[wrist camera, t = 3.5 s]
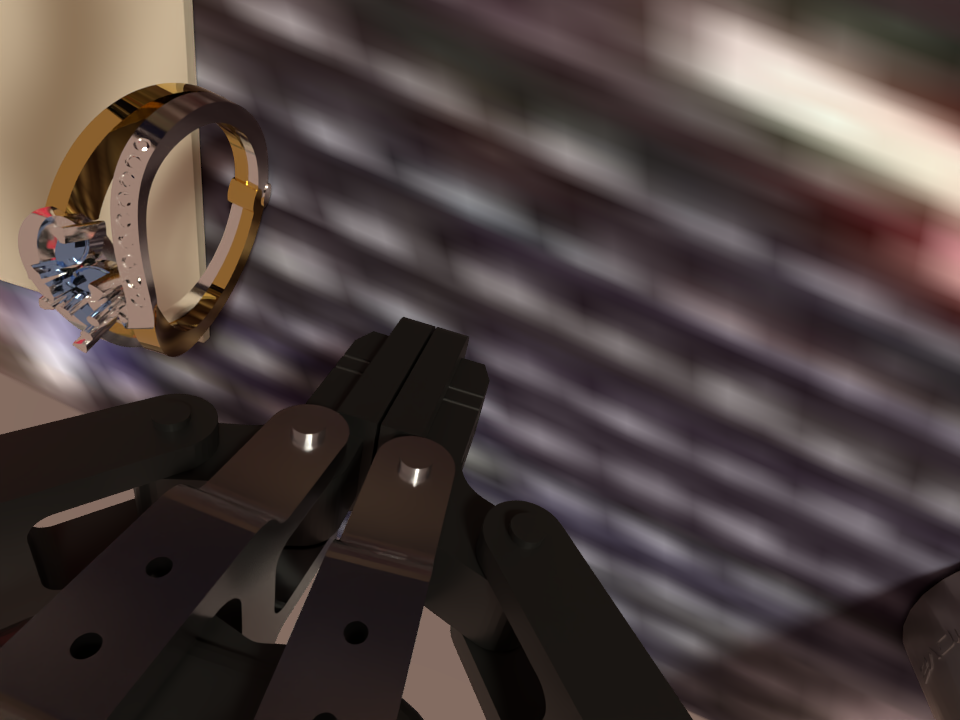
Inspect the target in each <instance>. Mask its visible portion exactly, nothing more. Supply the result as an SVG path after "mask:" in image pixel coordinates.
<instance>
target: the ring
mask: <svg viewBox="0 0 960 720" xmlns="http://www.w3.org/2000/svg"><path fill="white" fill-rule="evenodd" d="M212 123H217V124H218V125H219V126H220V127H221V129H222V130H223V131H224V133H225V134H226V136H227V138H228V140H229V142H230V145H231V148H232V151H233V155H234V162H235V177H234V178H233V179H232V180H231V182H230V185H229V190H228V201H229V202H231V203H232V207H231V211H230V215H229V219H228V222H227V226H226V229H225V232H224V234H223V237H222V240H221V242H220V244H219V247H218V249H217V251H216V253H215V255H214V257H213V259H212V260H211V262H210V264H209V266H208V267H207V269H206V270H205V272H204V274H203V275H202V276H201V278H200V279H199V281H198V282H197V283H196V284H195V286H194V287H193V288H192V289H191V290H190V291H189V292H188V294H187V295H186V296H185V297H183V298H182V299H181V300H180V301H179V302H178V303H176V304H175V305H174V306H172V307H171V308H169V309H168V310H166V311H164V312H161V311H160V309H159V307H158V306H157V296H156V290H155V285H154V280H153V275H152V270H151V264H150V258H149V251H148V242H147V228H146V215H147V204H148V197H149V193H150V189H151V185H152V182H153V180H154V177H155V175H156V173H157V171H158V169H159V167H160V165H161V164H162V162H163V161H164V159H165V158H166V156H167V155H168V154H169V153H170V151H171V150H172V149H173V148H174V147H175V146H176V145H177V144H178V143H179V142H180V141H181V140H182V139H184V138H185V137H186V136H187V135H189V134H190V133H191V132H193V131H195V130H196V129H198V128H200V127H202V126H205V125H208V124H212ZM268 171H269V166H268V152H267V146H266V142H265V138H264V135H263V132H262V130H261V128H260V126H259V124H258V122H257V121H256V119H255V118H254V117H253V116H252V115H251V114H250V113H249V112H248V111H247V110H246V109H244V108H243V107H241V106H239V105H237V104H235V103H234V102H232V101H230V100H228V99H226V98H224V97H222V96H220V95H218V94H216V93H213V92H211V91H209V90H207V89H204V88H202V87H199V86H196V85H191V84H186V83H163V84H157V85H152V86H148V87H145V88H142V89H139V90H136V91H134V92H132V93H130V94H128V95H126V96H124V97H122V98H120V99H119V100H117V101H115V102H114V103H112V104H111V105H110V106H108V107H107V108H106V109H104V110H103V111H102V112H101V113H100V114H99V115H97V116H96V117H95V118H94V119H93V120H92V121H91V122H90V123H89V124H88V125H87V127H86V128H85V129H84V130H83V131H82V132H81V134H80V135H79V136H78V138H77V139H76V140H75V142H74V143H73V145H72V146H71V148H70V149H69V151H68V152H67V154H66V156H65V158H64V159H63V161H62V163H61V165H60V167H59V169H58V171H57V174H56V176H55V178H54V181H53V183H52V186H51V189H50V192H49V195H48V198H47V202H46V205H45V207H44V208H40V209H37V210H35V211H33V212H32V213H30V214H29V215H28V216H27V217H26V218H25V219H24V221H23V222H22V224H21V226H20V229H19V233H18V249H19V254H20V258H21V261H22V263H23V266H24V268H25V270H26V272H27V275H28V279H30V280H32V282H33V283H34V285H35V286H36V287H37V289H38V290H39V291H40V293H41V294H42V295H43V296H42V297H41V298H39V305H40V307H41V308H43V309H51V310H54V309H56V310H57V311H58V312H59V313H60V314H61V315H62V316H63V317H65V318H66V319H67V320H68V321H69V322H70V323H72V324H73V325H74V326H76V327H77V328H79V329H80V330H82V331H81V333H80V334H81V336H80V337H79V338H78V339H77V340H76V341H75V342H74V343H73V345H74V346H75V347H76V348H78V349H80V350H81V351H83V352H85V353H87V351H88V350H89V349H90V348H91V347H92V346H93V345H94V344H95V343H96V342H97V341H98V340H99V339H103V340H105V341H108V342H110V343H113V344H116V345H119V346H124V347H144V348H146V349H148V350H151V351H154V352H157V353H160V354H164V355H167V356H170V357H176V356H179V355H181V354H183V353H185V352H186V351H188V350H189V349H190V348H191V347H192V346H193V345H194V344H195V343H196V342H197V341H198V340H199V339H200V338H201V337H202V336H203V334H204V333H205V332H206V331H207V329H208V328H209V327H210V325H211V324H212V323H213V321H214V320H215V318H216V317H217V315H218V314H219V312H220V311H221V309H222V308H223V306H224V305H225V303H226V301H227V300H228V298H229V296H230V294H231V292H232V291H233V289H234V287H235V285H236V283H237V281H238V279H239V277H240V275H241V273H242V271H243V268H244V266H245V264H246V261H247V259H248V257H249V254H250V251H251V249H252V246H253V243H254V240H255V237H256V234H257V231H258V228H259V224H260V220H261V217H262V212H263V208H264V207H266V206H267V204H268V202H269V199H270V195H271V184H270V183H268ZM112 179H113V181H112ZM111 181H112V188H111V197H110V221H111V232H112V240H113V243H112V242H111V240H110V239H109V238H108V236H107V235H106V224H105V221H95V220H98V219H99V216H100V212H101V208H102V205H103V201H104V198H105V195H106V193H107V190H108V188H109V186H110V183H111ZM92 220H94V221H92ZM86 264H87V265H86ZM118 316H119V319H120V320H117V317H118Z"/></svg>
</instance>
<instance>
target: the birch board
mask: <svg viewBox="0 0 960 720" xmlns="http://www.w3.org/2000/svg"><path fill="white" fill-rule="evenodd" d="M163 83H186V84H191V85H196V86H197V82H196V63H195V44H194V25H193V5H192V0H0V280H2V281H6V282H9V283H12V284H15V285H19V286H22V287H25V288H28V289H31V290H35V291H38V292H40V291H39V290H38V289H37V287H36V286H35V285H34V283H33V282H32V280H30V279H28V275H27V272H26V270H25V268H24V266H23V263H22V261H21V258H20V254H19V249H18V233H19V229H20V226H21V224H22V222H23V221H24V219H25V218H26V217H27V216H28V215H29V214H30V213H32V212H33V211H35V210H37V209H40V208H44V207H45V205H46V202H47V198H48V195H49V192H50V189H51V186H52V183H53V181H54V178H55V176H56V174H57V171H58V169H59V167H60V165H61V163H62V161H63V159H64V158H65V156H66V154H67V152H68V151H69V149H70V148H71V146H72V145H73V143H74V142H75V140H76V139H77V138H78V136H79V135H80V134H81V132H82V131H83V130H84V129H85V128H86V127H87V125H88V124H89V123H90V122H91V121H92V120H93V119H94V118H95V117H96V116H97V115H99V114H100V113H101V112H102V111H103V110H104V109H106V108H107V107H108V106H110V105H111V104H112V103H114V102H115V101H117V100H119V99H120V98H122V97H124V96H126V95H128V94H130V93H132V92H134V91H136V90H139V89H142V88H145V87H148V86H152V85H157V84H163ZM112 181H113V179H112ZM112 181H111V183H110V186H109V188H108V190H107V193H106V195H105V198H104V201H103V205H102V208H101V212H100V216H99V219H98V220H95V221H105V224H106V235H107V236H108V238H109V239H110V240H111V242H112V243H113V240H112V232H111V221H110V197H111V188H112ZM92 221H94V220H92ZM146 228H147V242H148V251H149V258H150V264H151V270H152V275H153V280H154V285H155V290H156V296H157V306H158V307H159V309H160V311H161V312H164V311H166V310H168V309H169V308H171V307H172V306H174V305H175V304H176V303H178V302H179V301H180V300H181V299H182V298H183V297H185V296H186V295H187V294H188V292H189V291H190V290H191V289H192V288H193V287H194V286H195V284H196V283H197V282H198V281H199V279H200V278H201V276H202V275H203V274H204V272H205V270H206V255H205V236H204V216H203V197H202V178H201V159H200V140H199V128H198V129H196V130H195V131H193V132H191V133H190V134H189V135H187V136H186V137H185V138H184V139H182V140H181V141H180V142H179V143H178V144H177V145H176V146H175V147H174V148H173V149H172V150H171V151H170V153H169V154H168V155H167V156H166V158H165V159H164V161H163V162H162V164H161V165H160V167H159V169H158V171H157V173H156V175H155V177H154V180H153V182H152V185H151V189H150V193H149V197H148V204H147V215H146ZM86 265H87V264H86ZM209 338H210V332H209V328H208V329H207V331H206V332H205V333H204V334H203V336H202V337H201V338H200V339H199V340H198V341H200V342H203V343H204V342H205V341H206V340H207V339H209Z"/></svg>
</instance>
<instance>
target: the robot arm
mask: <svg viewBox="0 0 960 720" xmlns="http://www.w3.org/2000/svg"><path fill="white" fill-rule="evenodd" d="M468 341H469V336H466V335H463V334H459V333H456V332H453V331H449V330H446V329H442V328H439V327H437V328H436V329H435V326H432V325H429V324H425V323H422V322H419V321H415V320H412V319H409V318H405V317H403V318H401V320H400V321H399V323H398V324H397V325H396V327H395V328H394V330H393V331H392V333H391V334H390V336H387V335H384V334H381V333H377V332H374V331H373V332H371V333H369V334H367V335H365V336H363V337H361V338H359V339H357V340H355V341H354V343H353V344H352V345H351V346H350V348H349V349H348V350H347V352H346V353H345V355H344V357H342V358H341V359H340V360H339V362H338V363H337V364H336V367H335V368H333V369H332V371H331V372H330V373H329V374H328V376H327V377H326V378H325V380H324V381H323V382H322V383H321V385H320V386H319V387H318V389H317V390H316V391H315V392H314V394H313V395H312V396H311V397H310V399H309V400H308V401H307V403H306V404H304V405H296V406H291V407H288V408H286V409H283V410H281V411H279V412H278V413H276V414H275V415H274V416H273V417H272V418H271V419H270V420H269V421H268V422H267V423H266V424H265V425H240V424H224V423H218V414H217V411H216V409H215V408H214V407H213V405H212V404H210V403H209V402H208V401H206V400H204V399H202V398H199V397H197V396H192V395H186V394H168V395H162V396H157V397H153V398H149V399H145V400H141V401H137V402H132V403H128V404H124V405H120V406H116V407H112V408H108V409H104V410H100V411H96V412H91V413H87V414H83V415H79V416H75V417H71V418H67V419H63V420H59V421H54V422H50V423H46V424H42V425H38V426H34V427H30V428H26V429H22V430H18V431H14V432H9V433H6V434H1V435H0V720H423V718H422V717H421V716H420V714H419V713H418V712H417V711H416V710H415V709H414V708H413V707H412V706H410V705H409V704H408V703H407V702H406V701H405V700H404V699H403V698H402V695H403V691H404V687H405V682H406V678H407V674H408V669H409V665H410V662H411V657H412V653H413V649H414V645H415V641H416V636H417V632H418V628H419V624H420V619H421V616H422V611H423V607H424V606H425V607H426V608H428V609H429V610H430V611H432V612H433V613H434V614H436V615H437V616H438V617H440V618H441V619H442V620H444V621H445V622H447V623H448V624H449V625H451V630H450V631H451V637H452V640H453V643H454V646H455V648H456V650H457V653H458V655H459V657H460V660H461V662H462V664H463V666H464V669H465V671H466V673H467V675H468V678H469V680H470V683H471V685H472V687H473V690H474V692H475V694H476V696H477V699H478V701H479V703H480V706H481V708H482V710H483V713H484V715H485V717H486V720H693V719H692V718H691V716H690V715H689V713H688V712H687V710H686V709H685V707H684V706H683V704H682V703H681V701H680V700H679V698H678V697H677V695H676V694H675V692H674V691H673V689H672V688H671V687H670V685H669V684H668V682H667V681H666V679H665V678H664V676H663V675H662V673H661V672H660V670H659V669H658V667H657V666H656V664H655V663H654V661H653V660H652V658H651V657H650V655H649V654H648V652H647V651H646V649H645V648H644V647H643V645H642V644H641V642H640V641H639V639H638V638H637V636H636V635H635V633H634V632H633V630H632V629H631V627H630V626H629V624H628V623H627V621H626V620H625V618H624V617H623V615H622V614H621V612H620V611H619V609H618V608H617V607H616V605H615V604H614V602H613V601H612V599H611V598H610V596H609V595H608V593H607V592H606V590H605V589H604V587H603V586H602V584H601V583H600V581H599V580H598V578H597V577H596V575H595V574H594V572H593V571H592V569H591V568H590V566H589V565H588V564H587V562H586V561H585V559H584V558H583V556H582V555H581V553H580V552H579V550H578V549H577V547H576V546H575V544H574V543H573V541H572V540H571V538H570V537H569V535H568V534H567V532H566V531H565V529H564V528H563V526H562V525H561V524H560V522H559V521H558V520H557V519H556V518H555V517H554V516H553V515H552V514H551V513H550V512H548V511H547V510H545V509H544V508H542V507H540V506H538V505H535V504H533V503H529V502H525V501H506V502H503V503H500V504H498V505H496V506H495V505H493V504H492V503H490V502H488V501H487V500H485V499H484V498H482V497H481V496H480V495H478V494H477V493H476V492H475V491H474V490H473V489H472V488H471V487H470V486H469V484H468V483H467V481H466V480H465V478H464V475H463V472H462V469H463V466H464V463H465V461H466V458H467V455H468V452H469V449H470V446H471V443H472V440H473V437H474V434H475V431H476V427H477V424H478V420H479V417H480V413H481V409H482V406H483V402H484V399H485V395H486V392H487V388H488V384H489V378H488V374H487V371H486V367H485V365H484V364H480V363H477V362H474V361H470V360H467V359H464V358H465V354H466V350H467V346H468ZM132 488H134V493H135V499H132V500H129V501H126V502H123V503H120V504H117V505H114V506H111V507H108V508H105V509H102V510H99V511H96V512H93V513H90V514H87V515H84V516H81V517H78V518H75V519H72V520H69V521H66V522H63V523H60V524H57V525H54V526H51V527H45V528H36V527H33V526H34V525H35V524H36V523H37V522H39V521H40V520H42V519H44V518H46V517H48V516H50V515H52V514H56V513H58V512H62V511H65V510H68V509H71V508H74V507H77V506H80V505H83V504H86V503H89V502H93V501H96V500H99V499H102V498H105V497H108V496H111V495H114V494H117V493H120V492H123V491H126V490H129V489H132ZM348 511H352V512H351V515H350V517H349V520H348V522H347V524H346V527H345V529H344V532H343V534H342V536H341V538H340V540H337V532H338V529H339V527H340V526H341V524H342V522H343V520H344V518H345V516H346V514H347V513H348ZM318 569H319V570H318ZM317 571H318V573H317ZM316 573H317V575H316V578H315V580H314V582H313V584H312V587H311V589H310V592H309V594H308V596H307V598H306V600H305V603H304V605H303V607H302V610H301V612H300V614H299V617H298V619H297V621H296V623H295V626H294V628H293V631H292V633H291V635H290V637H289V640H288V642H287V644H286V645H285V644H275V641H276V639H277V636H278V634H279V632H280V630H281V628H282V626H283V624H284V623H285V621H286V619H287V618H288V616H289V615H290V613H291V612H292V610H293V609H294V607H295V605H296V604H297V602H298V601H299V599H300V598H301V596H302V594H303V593H304V591H305V590H306V588H307V587H308V585H309V584H310V582H311V580H312V579H313V577H314V576H315V574H316ZM903 644H904V647H905V650H906V653H907V655H908V658H909V660H910V663H911V665H912V667H913V670H914V672H915V674H916V677H917V679H918V681H919V684H920V686H921V688H922V691H923V693H924V695H925V698H926V700H927V702H928V705H929V707H930V709H931V712H932V714H933V716H934V719H935V720H960V571H958V572H956V573H954V574H952V575H951V576H949V577H947V578H945V579H943V580H942V581H940V582H939V583H938V584H936V585H935V586H934V587H932V588H931V589H930V590H928V591H927V592H926V593H924V594H923V595H922V596H921V598H920V599H919V600H918V601H917V602H916V604H915V605H914V606H913V607H912V608H911V610H910V612H909V614H908V616H907V619H906V621H905V623H904V626H903Z"/></svg>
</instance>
